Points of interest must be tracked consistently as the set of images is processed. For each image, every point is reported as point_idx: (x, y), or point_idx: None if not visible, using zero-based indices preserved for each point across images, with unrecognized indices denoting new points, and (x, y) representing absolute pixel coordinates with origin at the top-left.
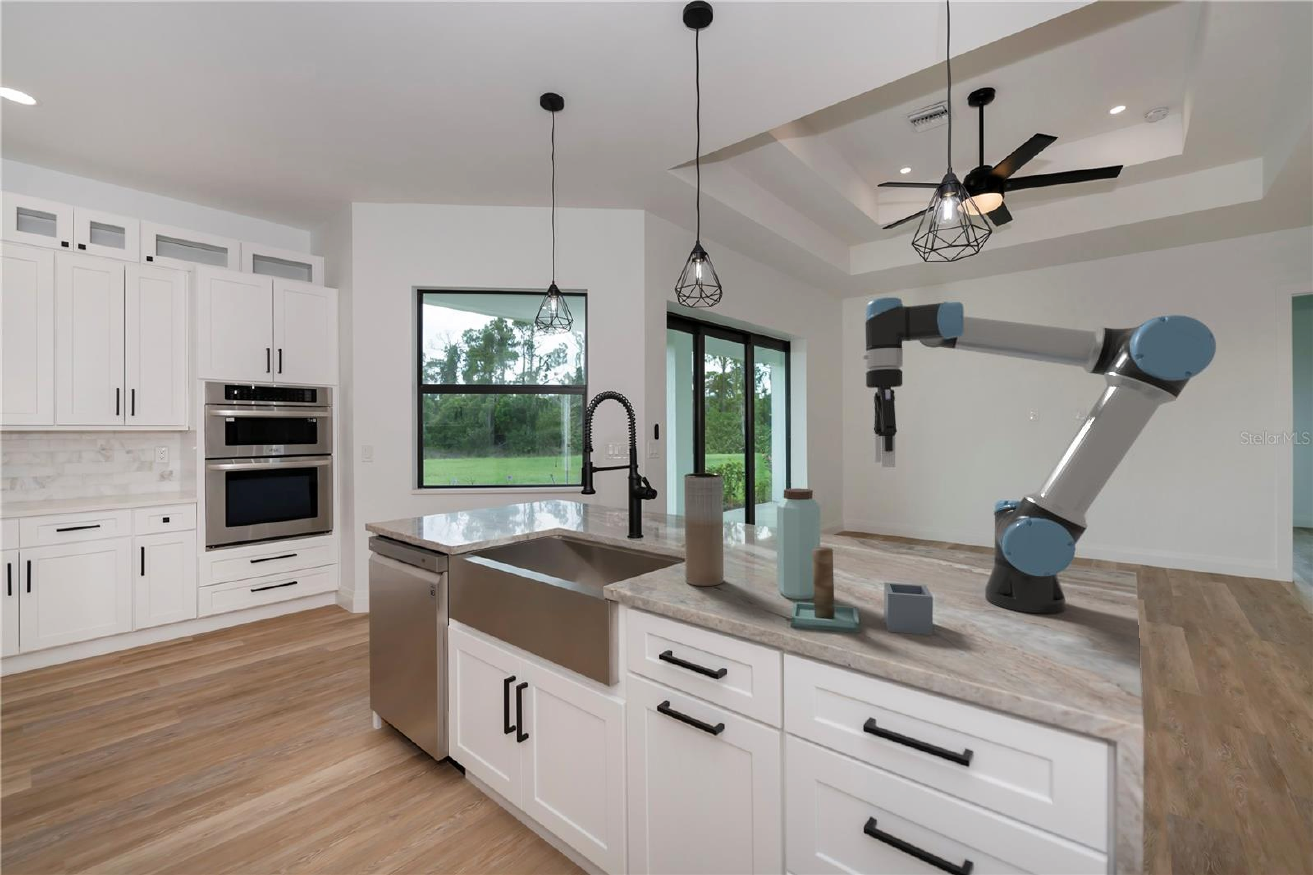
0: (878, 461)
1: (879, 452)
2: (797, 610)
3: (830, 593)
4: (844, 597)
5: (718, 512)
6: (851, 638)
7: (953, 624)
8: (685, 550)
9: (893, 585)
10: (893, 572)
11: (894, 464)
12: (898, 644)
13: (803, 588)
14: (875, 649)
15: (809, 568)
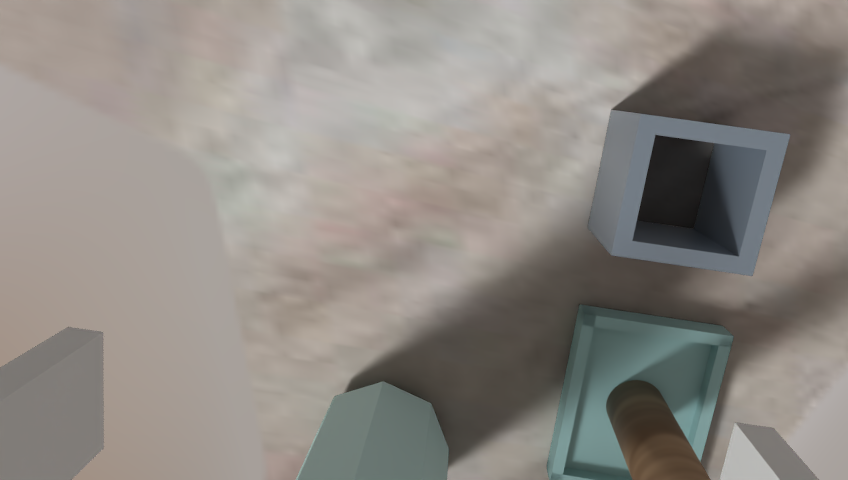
0: (99, 424)
1: (30, 474)
2: (584, 468)
3: (683, 433)
4: (398, 304)
5: None
6: (759, 352)
7: (635, 29)
8: None
9: (633, 227)
10: (51, 65)
11: (785, 450)
12: (802, 241)
13: (443, 448)
14: (837, 308)
15: (433, 467)
